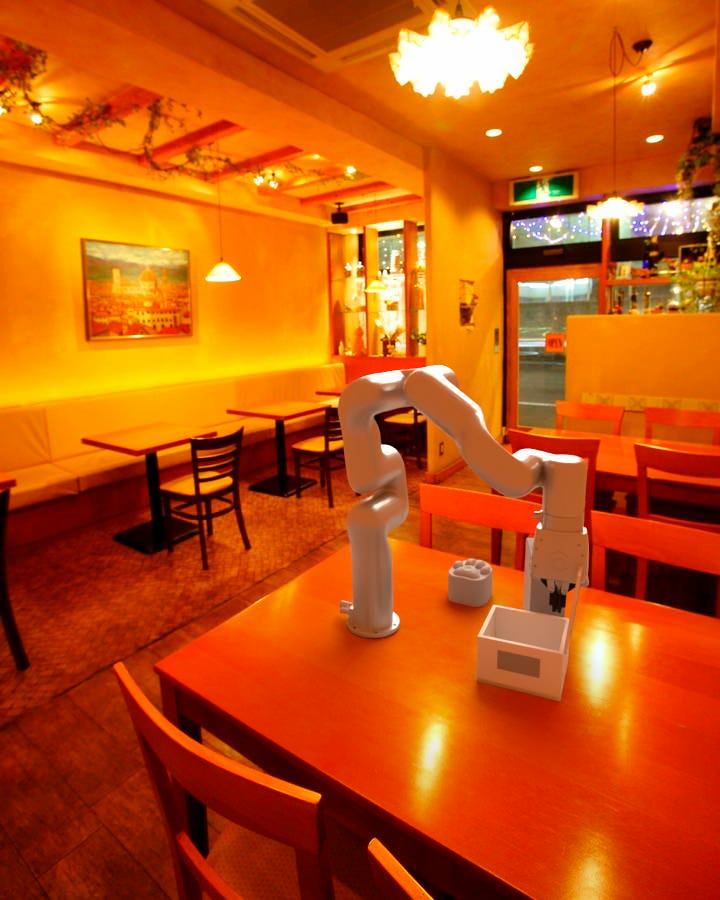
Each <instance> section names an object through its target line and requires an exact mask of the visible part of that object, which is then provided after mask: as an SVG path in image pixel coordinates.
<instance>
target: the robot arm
mask: <svg viewBox="0 0 720 900" xmlns="http://www.w3.org/2000/svg"><path fill="white" fill-rule="evenodd" d="M459 388H460V382H459V379H458V377H457V375H456V373H455V372H454V370H452V369H451V368H449V367H447V366H444V365H440V364H439V365H438V364H437V365H430V366H425V367H419V368H409V369H399V370H392V371H386V372H379V373H372V374H368V375H365V376H362V377H359V378H357V379H355V380H353V381H352V382H350V383H349V384H348V385H347V386H346V387H345V388H344V389H343V390H342V391H341V393H340V396H339V399H338V401H337V402H338V403H337V414H338V420H339V423H340V429H341V430H340V431H341V434H342V444H343V445H342V446H343V452H344V461H345V470H346V476H347V481H348V484H349V487H350V489H352V491H353V492H354V493H357V494H359V495H362V494H363V495H365V494H370V493H372V494H371V495H368V496H367V497H365V498H362V499H361V500H358V501H357V502H356V503H355V504H353V505H352V506H351V508H350V509H349V511H348V513H347V516H346V530H347V534H348V539H349V544H350V554H351V574H352V575H351V576H352V577H351V581H352V602H350V601H346V600H340V602H339V613H340V614H344V615H345V614H346V615H348V618H347V623H346V625H347V626H346V627H347V629H348V630H349V631H350V632H351V633H352V634H354V635H356V636H358V637H362V638H365V639H378V638H384V637H388V636H390V635H393V634H394V633H395V632H397V631H398V630H399V629H400V626H401V625H400V624H401V623H400V622H401V621H400V617H399V616H398V615H397V613H395V612H394V581H393V580H394V579H393V578H394V577H393V574H394V573H393V572H394V571H393V552H392V547H391V545H390V543H389V539H388V534H389V533H390V532H392V530H394V529H396V528H397V527H399V526H400V525H402V524H403V522H404V521H405V520H406V519H407V516H408V515H409V510H410V509H409V507H410V506H409V503H410V502H409V494H408V493H409V492H408V485H407V477H406V467H405V463H404V460H403V458H402V457H403V456H401V454H400V452H399V451H398V450H397V449H396V448H394V447H393V446H391V445H388V444H382V439H381V432H380V428H379V425H378V424H377V421H376V420H375V416H376V415H378V414H381V413H383V412H389V411H392V410H396V409H400V408H401V409H402V408H408V407H413V408H414V409H415V410H417V411H418V412H419V413H421V415H423V416H424V417H425V419H427V420H428V421H430V422H431V423H433V425H434V426H436V427H437V428H438V429H440V430H441V431H442V432H443V433H444V434H445V435H446V436H448V437H449V438H450V439H451V440H452V441H453V442H454V444H455V446H456V447H457V450H458V452H459V453H460V455H461V456H462V459H464V462H465V463H466V464H467V465H468V467H469V468H470V469H471V470H472V471H473V473H475V474H476V475H477V476H478V477H479V478H480V479H482V480H483V481H484V483H486V484H487V485H489V486H490V487H491V488H492V489H494V490H495V491H497V492H498V493H499V494H501V495H503V496H505V497H507V498H511V499H521V498H523V497H525V496H527V495H528V494H529V493H531V492H533V490H535V489H536V488H540V487H541V488H542V501H541V502H542V503H541V504H542V505H541V510H538V511H534V512H533V519H537V520H539V523H538V524H537V525H536V528H535V531H534V532H535V533H534V536H533V538H534V542H533V550H532V560H531V574H530V577H531V578H533V579H536V580H539V581H541V582H542V583H543V584H544V585H545V586H546V587H547V588H548V591H549V592H550V597H549V605H551V606H552V612H556V610H557V612H558V613H561V610H562V608H565V609H566V605H567V595H568V593H570V591H571V592H572V590H575V585H576V580H577V575H578V570H579V566H583V569H582V574H581V580H580V588H587V587H588V586H589V583H590V581H589V576H588V573H589V565H590V562H589V561H590V559H589V558H590V551H589V550H590V549H589V548H590V547H589V535H588V530H587V528H586V526H585V527H584V523H585V507H586V493H587V491H586V490H587V479H588V478H587V477H588V464H587V461H586V460H585V459H584V458H582V457H580V456H577V455H573V454H553V453H550V452H546V451H542V450H537V449H532V448H523V449H519V450H518V451H516V452H515V453H513V454H512V453H511V452H509V451H508V450H507V449H505V448H504V447H503V445H501V444H500V443H499V442H498V441H496V439H495V438H494V437H493V436H492V435H491V433H490V432H489V430H488V428H487V425H486V421H485V413H484V410H483V408H482V407H481V406H480V405H479V404H478V403H476V402H475V401H473V400H472V399H471V398H470V397H468V395H466V394H465V393H464V392H462V391H460V390H459ZM556 581H561V582H563V584H562V586H561V587H560V589H558V587H557V585H556Z"/></svg>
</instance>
